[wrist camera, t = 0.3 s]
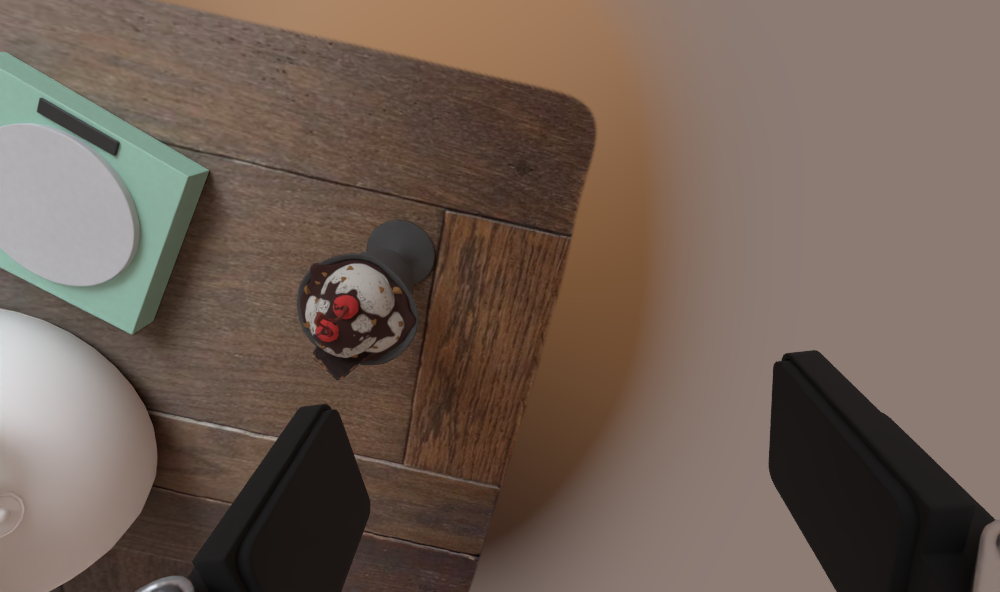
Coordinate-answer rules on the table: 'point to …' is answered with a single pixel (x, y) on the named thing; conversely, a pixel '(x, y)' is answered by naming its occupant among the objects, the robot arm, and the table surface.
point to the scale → (88, 200)
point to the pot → (65, 454)
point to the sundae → (366, 299)
